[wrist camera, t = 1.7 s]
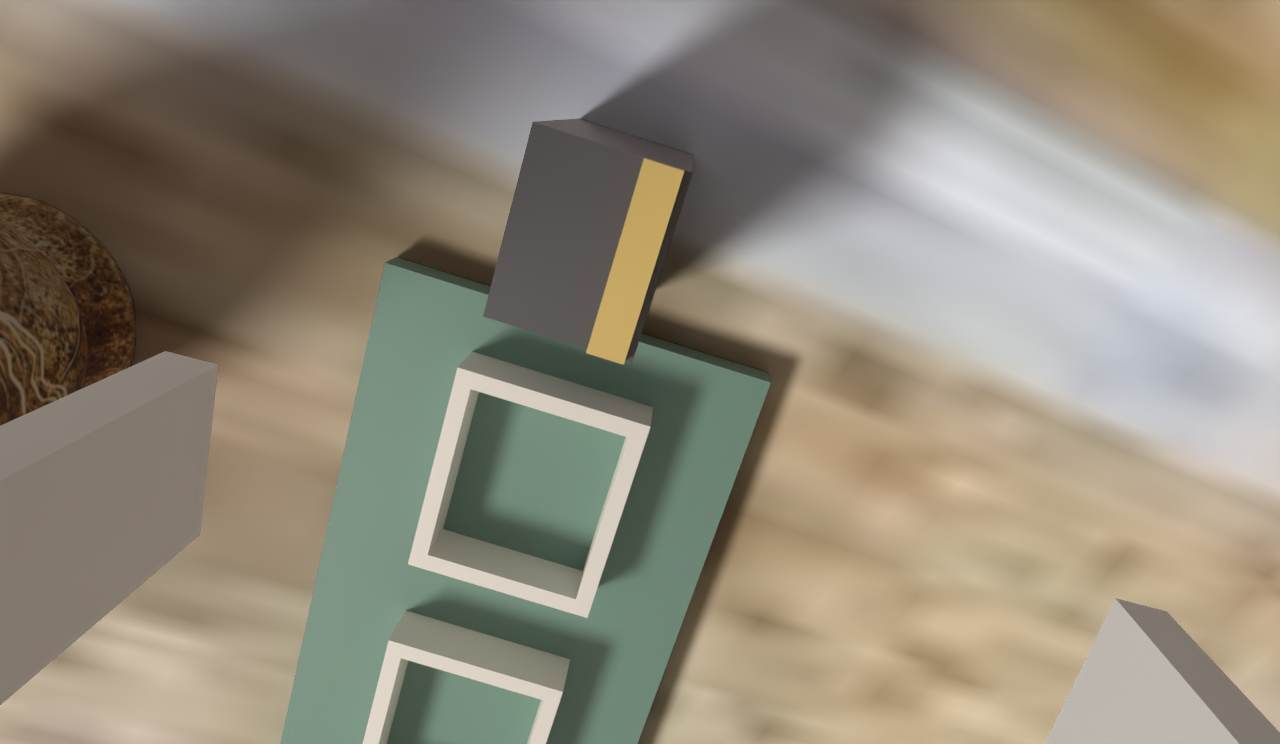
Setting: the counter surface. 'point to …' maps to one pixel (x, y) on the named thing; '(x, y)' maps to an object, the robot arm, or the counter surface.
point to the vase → (56, 308)
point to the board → (511, 528)
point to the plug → (588, 235)
